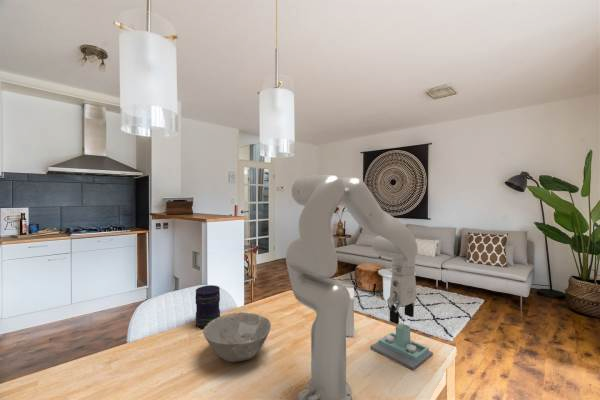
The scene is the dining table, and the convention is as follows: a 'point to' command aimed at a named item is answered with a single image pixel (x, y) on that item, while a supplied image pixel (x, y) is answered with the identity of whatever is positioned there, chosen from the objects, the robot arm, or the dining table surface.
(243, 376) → the dining table surface
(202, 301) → the storage jar
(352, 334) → the milk carton
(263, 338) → the ceramic bowl
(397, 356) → the board
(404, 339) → the teal frame with block
